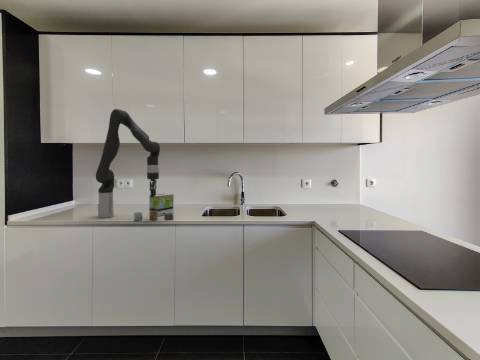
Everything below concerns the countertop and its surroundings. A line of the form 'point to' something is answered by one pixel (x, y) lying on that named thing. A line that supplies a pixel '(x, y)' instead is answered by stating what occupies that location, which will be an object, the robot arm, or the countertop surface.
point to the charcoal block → (168, 216)
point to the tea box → (161, 203)
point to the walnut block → (153, 215)
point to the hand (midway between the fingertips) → (153, 196)
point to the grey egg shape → (138, 216)
